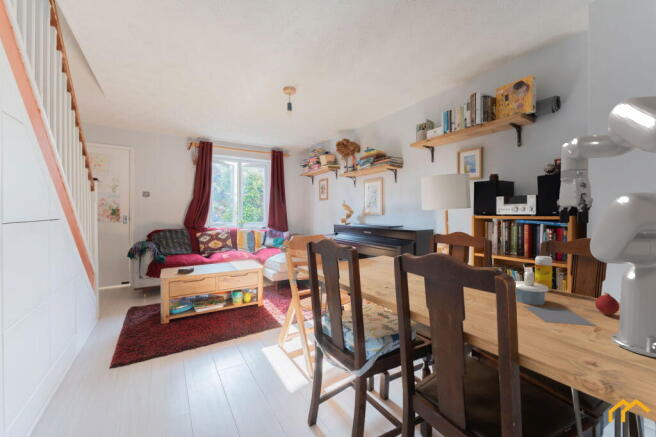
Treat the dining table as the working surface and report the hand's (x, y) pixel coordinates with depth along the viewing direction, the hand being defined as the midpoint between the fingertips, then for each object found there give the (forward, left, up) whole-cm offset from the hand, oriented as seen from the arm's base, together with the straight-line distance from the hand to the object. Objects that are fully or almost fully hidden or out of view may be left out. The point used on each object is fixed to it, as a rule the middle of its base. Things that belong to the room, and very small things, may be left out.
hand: (573, 222), depth 103 cm
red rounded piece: (-6, -7, -32) cm, 33 cm away
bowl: (+5, +12, -32) cm, 34 cm away
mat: (-10, +10, -32) cm, 35 cm away
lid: (+5, +12, -26) cm, 29 cm away
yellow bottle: (+24, -2, -32) cm, 40 cm away
